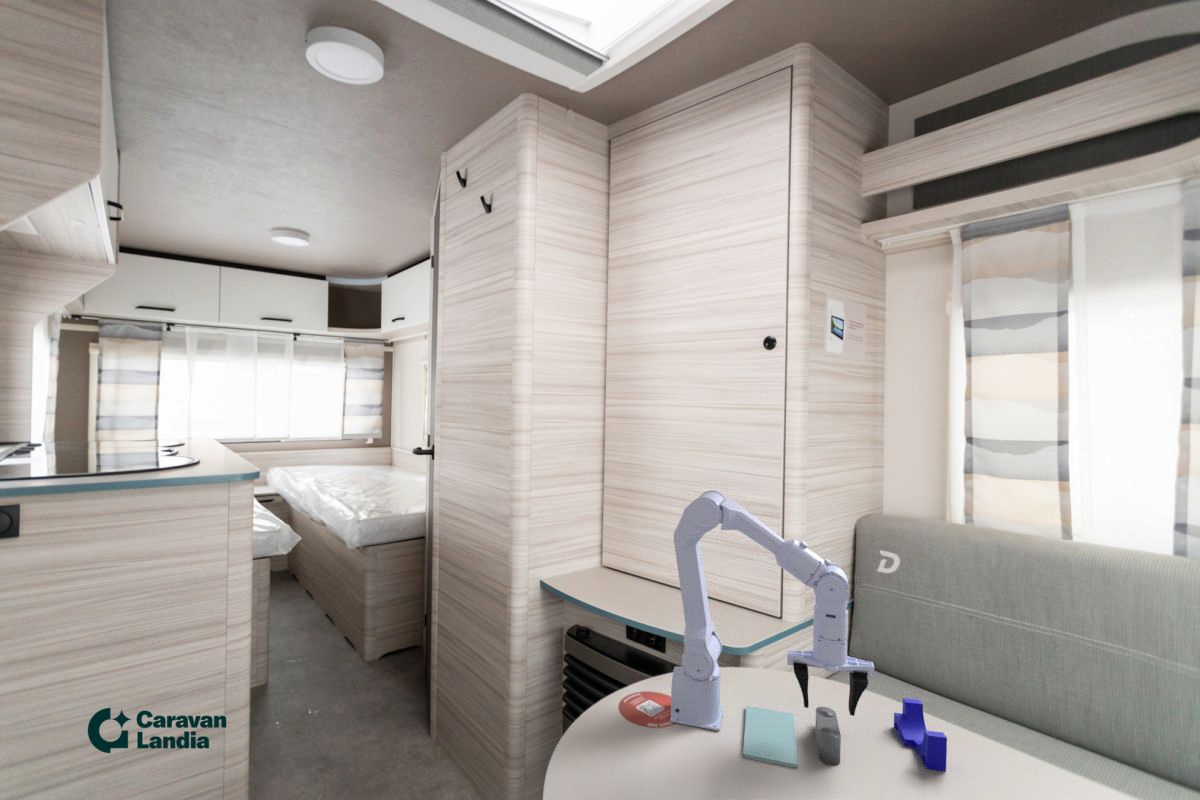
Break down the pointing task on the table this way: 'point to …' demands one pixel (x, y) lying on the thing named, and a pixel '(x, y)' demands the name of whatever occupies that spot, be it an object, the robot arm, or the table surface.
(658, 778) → the table surface
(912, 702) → the cable clip
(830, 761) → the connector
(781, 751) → the rubber mat
